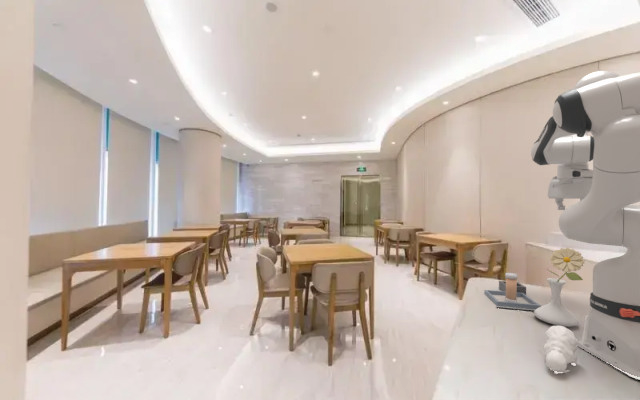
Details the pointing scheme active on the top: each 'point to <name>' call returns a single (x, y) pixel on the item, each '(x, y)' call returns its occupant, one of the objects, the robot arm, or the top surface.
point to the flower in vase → (554, 309)
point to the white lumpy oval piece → (560, 348)
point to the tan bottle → (511, 287)
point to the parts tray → (511, 304)
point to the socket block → (519, 287)
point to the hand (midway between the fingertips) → (571, 210)
